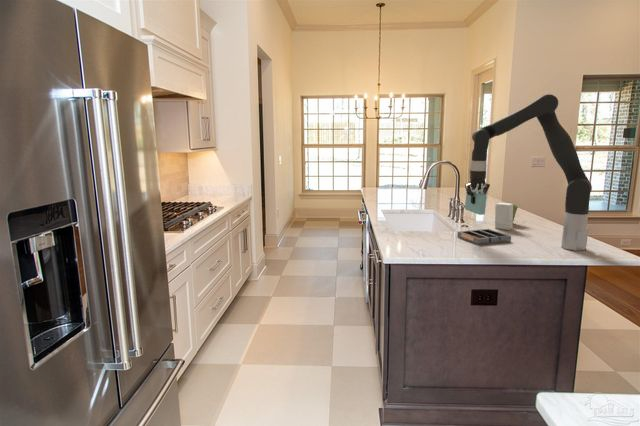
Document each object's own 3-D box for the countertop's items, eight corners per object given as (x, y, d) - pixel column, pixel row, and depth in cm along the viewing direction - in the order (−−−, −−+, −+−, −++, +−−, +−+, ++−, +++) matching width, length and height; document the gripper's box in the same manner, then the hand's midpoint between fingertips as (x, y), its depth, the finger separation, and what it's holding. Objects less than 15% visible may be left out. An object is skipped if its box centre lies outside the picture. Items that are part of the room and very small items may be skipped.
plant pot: (521, 224, 239) (523, 206, 237) (506, 226, 235) (508, 207, 233) (506, 220, 250) (507, 203, 248) (491, 222, 246) (493, 204, 244)
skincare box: (512, 228, 228) (514, 203, 225) (508, 230, 224) (510, 204, 221) (497, 226, 234) (499, 202, 231) (493, 228, 230) (495, 203, 227)
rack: (510, 241, 200) (511, 236, 200) (477, 245, 195) (478, 239, 194) (488, 234, 216) (488, 228, 216) (457, 236, 211) (457, 231, 210)
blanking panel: (484, 214, 197) (486, 194, 194) (479, 214, 196) (481, 195, 193) (469, 208, 208) (471, 190, 205) (464, 209, 207) (466, 190, 205)
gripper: (471, 170, 192) (468, 205, 195) (495, 169, 195) (492, 204, 199) (461, 169, 199) (459, 203, 202) (485, 168, 202) (482, 201, 206)
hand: (476, 203), depth 200 cm, fingers closed on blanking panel, 3 cm apart
